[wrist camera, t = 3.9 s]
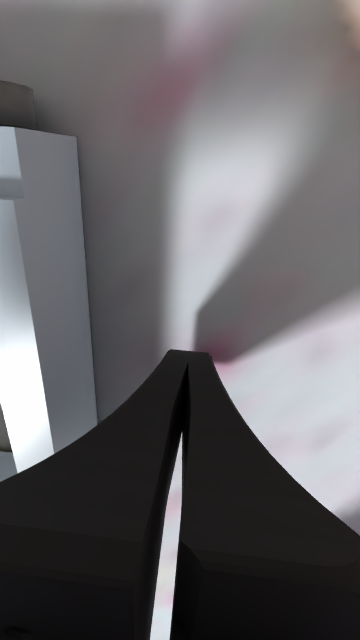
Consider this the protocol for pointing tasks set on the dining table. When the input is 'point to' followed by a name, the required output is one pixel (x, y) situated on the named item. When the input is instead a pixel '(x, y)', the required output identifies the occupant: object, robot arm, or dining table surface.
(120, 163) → the dining table surface
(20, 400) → the grey square frame
